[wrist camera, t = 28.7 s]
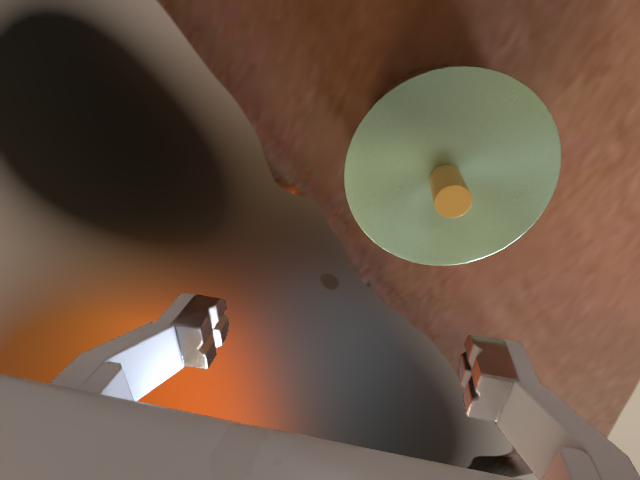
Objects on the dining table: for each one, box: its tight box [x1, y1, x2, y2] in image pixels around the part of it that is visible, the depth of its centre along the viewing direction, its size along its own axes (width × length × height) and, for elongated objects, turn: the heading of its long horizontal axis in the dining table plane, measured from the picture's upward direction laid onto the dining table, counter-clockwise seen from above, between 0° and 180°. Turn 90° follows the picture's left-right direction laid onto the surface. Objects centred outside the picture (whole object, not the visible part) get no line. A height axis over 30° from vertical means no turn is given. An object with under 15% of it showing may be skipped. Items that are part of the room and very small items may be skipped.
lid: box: [344, 66, 561, 266], centre depth 26 cm, size 16×16×6 cm
